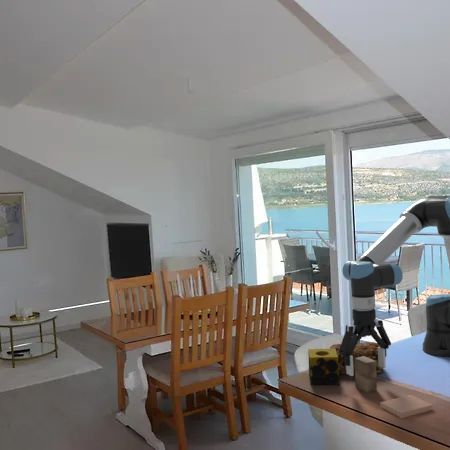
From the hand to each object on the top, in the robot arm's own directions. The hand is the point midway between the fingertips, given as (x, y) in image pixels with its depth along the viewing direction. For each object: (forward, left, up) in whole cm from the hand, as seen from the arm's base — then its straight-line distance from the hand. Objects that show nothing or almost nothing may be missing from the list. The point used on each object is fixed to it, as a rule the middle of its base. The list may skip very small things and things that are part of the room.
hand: (366, 370), depth 170 cm
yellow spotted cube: (+7, -14, -6) cm, 17 cm away
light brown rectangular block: (0, 0, -6) cm, 6 cm away
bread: (-9, -16, -6) cm, 20 cm away
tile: (0, +14, -6) cm, 15 cm away
